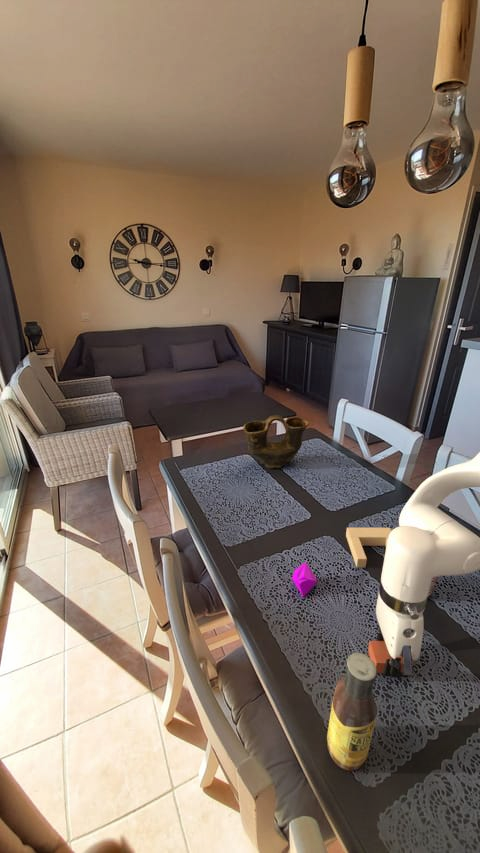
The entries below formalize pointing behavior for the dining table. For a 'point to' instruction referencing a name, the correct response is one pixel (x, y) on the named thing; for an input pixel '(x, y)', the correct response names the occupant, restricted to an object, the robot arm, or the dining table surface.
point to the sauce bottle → (353, 713)
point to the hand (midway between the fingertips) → (388, 660)
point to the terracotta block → (379, 654)
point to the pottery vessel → (275, 450)
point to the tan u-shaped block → (365, 541)
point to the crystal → (304, 579)
